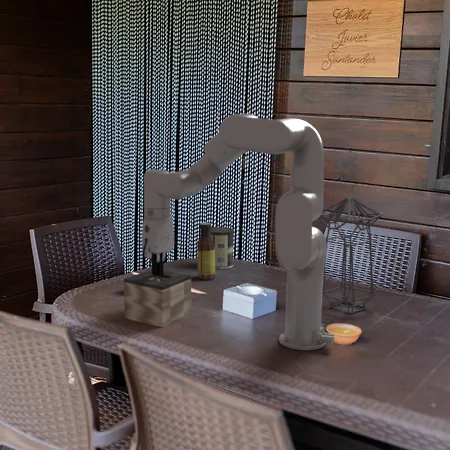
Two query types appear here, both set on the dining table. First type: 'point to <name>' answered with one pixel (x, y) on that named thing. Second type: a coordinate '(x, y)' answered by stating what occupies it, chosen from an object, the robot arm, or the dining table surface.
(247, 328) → the dining table surface
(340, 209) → the geometric lantern
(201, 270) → the sauce bottle
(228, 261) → the coffee can
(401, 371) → the dining table surface
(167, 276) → the socket
